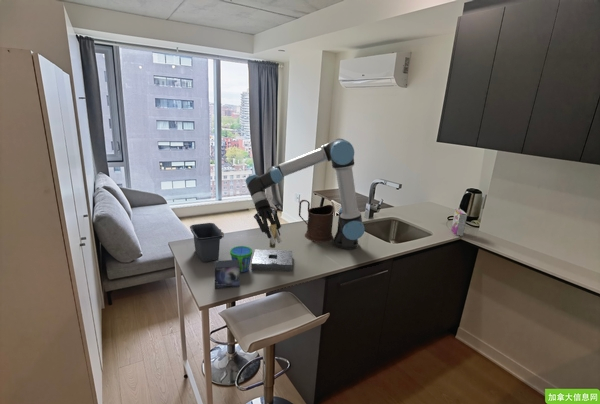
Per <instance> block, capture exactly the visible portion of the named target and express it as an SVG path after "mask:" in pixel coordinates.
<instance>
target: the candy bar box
mask: <svg viewBox="0 0 600 404" xmlns="http://www.w3.org/2000/svg"><path fill="white" fill-rule="evenodd" d="M467 218H468V213H466V212H465V211H464V210H463V209H459V208H456V209H454V213H453V219H452V224H451V231H453V232H454V233H455V234H456V235H460V236H459V237H464V233H465V228H466V224H467V223H466V222H467ZM453 232H452V233H453ZM454 233H453V234H454ZM455 234H454V235H455ZM456 235H455V236H456Z"/></svg>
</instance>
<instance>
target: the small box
mask: <svg viewBox="0 0 600 404" xmlns="http://www.w3.org/2000/svg"><path fill="white" fill-rule="evenodd" d="M237 287H238V288H239V287H240V264H239V260H232V259H229V260H227V259H226V260H216V261H215V260H214V288H215V289H216V290H217V289H225V288H227V289H228V288H230V289H231V288H237Z"/></svg>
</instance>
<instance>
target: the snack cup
mask: <svg viewBox="0 0 600 404" xmlns="http://www.w3.org/2000/svg"><path fill="white" fill-rule="evenodd" d="M252 254H253V249H252V248H251V247H249V246H246V245H238V246H234V247H232V248H231V249H230V250H229V255H230V257H231V260H239V264H240V273H241V274H242V273H246V272H248V271H249V269H250V265H251V261H252V260H251V259H252Z"/></svg>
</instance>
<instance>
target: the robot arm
mask: <svg viewBox="0 0 600 404" xmlns="http://www.w3.org/2000/svg"><path fill="white" fill-rule="evenodd" d="M324 162H331V167H332V169H333V170H335V174H336V181H337V187H338V195H339V199H340V205H341V206H340V208H339V210H338V220H337V231H336V233H335V235H334V236H333V239H332V240H333V241H332V243H333V245H334V246H335V247H337V248H340V249H341V250H344V249H345V250H355V249H356V248H358V247H359V239H360V238H361V237H363V235H364V234H365V230H366V228H365V225H364V223H363V217H362V212H361V211H360V210H359V209H358V202H357V201H358V200H357V194H356V186H355V178H354V171H353V167H354V166H355V148H354V146H353V144H352V143H351V142H350V141H348V140H346V139H343V138H337V139H333V140H332V141H330V142H327V143H324V144H322V145H321V147H319V148H317V149H315V150H312V151H310V152H308V153H305V154H302V155H299V156H297V157H295V158H292V159H289V160H287V161H284V162H282V163H279V164H277V165H272V166H270V167H268V169H267V170H266V172H265V173H263V174H261V175H260V176H259V175H257V174H250V175H249V176H247V177H246V179H245V184H246V188H247V189H248V192H249V195H250V196H251V199H252V202H253V204H254V207H255V210H256V213H255V214H254V215H253V218H254V219H255V220H256V222H257V224H258V227H259V229H260V231H261V232H262V233H264V234H266V236H267V239H269V242H270V241H271V243H272V245H273V244H275V243H276V242H275V239H274V237H273V234H272V232H271V231H270V227H269V226H270V225H271V224H276V241H277V243H276V244H281V242H282V238H281V233H280V229H281V227H282V225H281V222H280V219H279V216H278V211H277V210H273V209H272V208H271V204H270V202H269V200H268V197H267V194H266V192H265V190H266V189H268V188H270V187H272V186H274V185H277V184H279V183H280V182H282V181H283V180H284V177H287V176H289V175H291V174H294V173H297V172H300V171H302V170H304V169H307V168H310V167H313V166H315V165H318V164H320V163H324ZM268 221H269V222H268ZM269 223H270V225H269ZM276 244H275V245H276Z"/></svg>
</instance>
